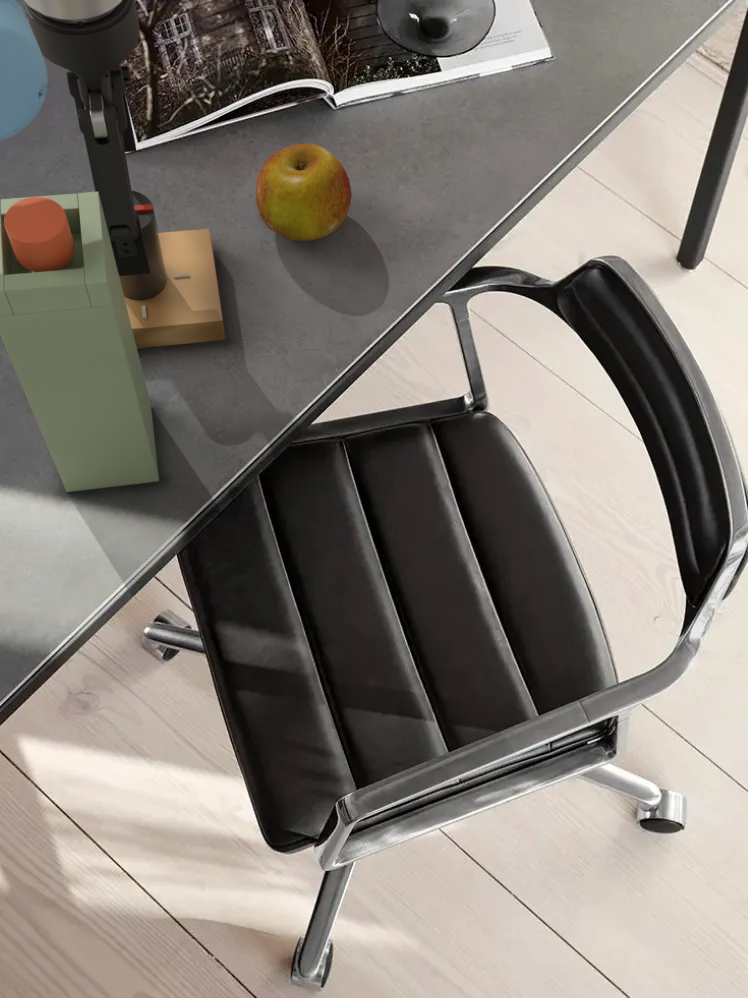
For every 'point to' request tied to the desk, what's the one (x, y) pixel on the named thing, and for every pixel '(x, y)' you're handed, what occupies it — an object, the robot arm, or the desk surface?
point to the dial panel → (181, 295)
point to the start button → (39, 234)
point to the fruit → (303, 192)
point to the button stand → (79, 355)
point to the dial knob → (156, 279)
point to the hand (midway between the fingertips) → (126, 209)
